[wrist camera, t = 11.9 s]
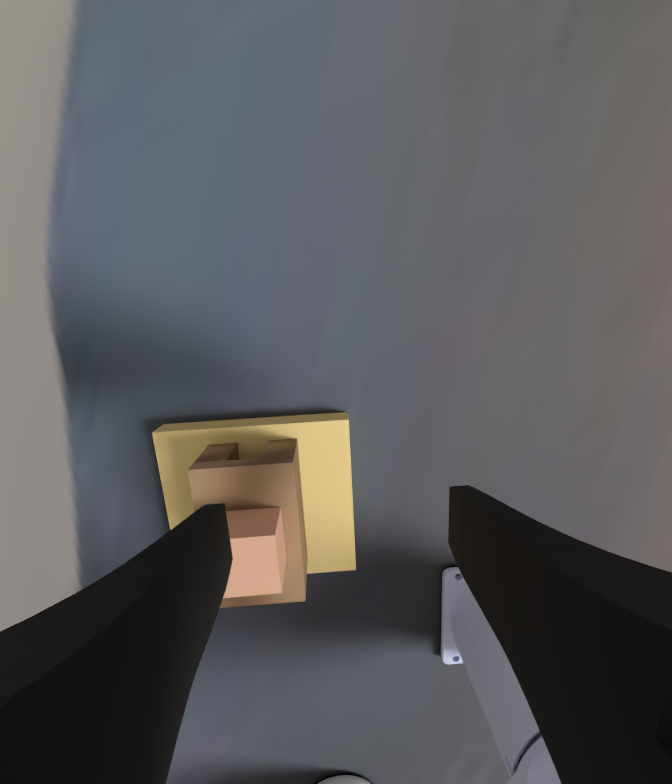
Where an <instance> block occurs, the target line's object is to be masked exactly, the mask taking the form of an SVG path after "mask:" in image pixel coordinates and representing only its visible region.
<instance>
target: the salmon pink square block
mask: <svg viewBox="0 0 672 784" xmlns="http://www.w3.org/2000/svg"><path fill="white" fill-rule="evenodd" d="M226 515H227V522H228V529H229V535H230V542H231V549H232V556H233V561H232V565H231V570H230V575H229V579H228V583H227V587H226V591H225V594H224V597H223V598H231V597H242V596H254V595H266V594H277V593H282V587H283V580H284V573H285V566H286V551H285V542H284V533H283V524H282V515H281V507H275V508H262V509H249V510H237V511H226Z"/></svg>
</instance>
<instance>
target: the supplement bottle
mask: <svg viewBox="0 0 672 784" xmlns="http://www.w3.org/2000/svg"><path fill="white" fill-rule="evenodd" d="M318 784H371V783H370V782H368V781H367V780H365V779H363V778H360V777H357V776H352V775H339V776H334V777H330V778H327V779H325V780H323V781H321V782H319V783H318Z"/></svg>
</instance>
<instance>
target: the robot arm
mask: <svg viewBox="0 0 672 784" xmlns="http://www.w3.org/2000/svg"><path fill="white" fill-rule="evenodd" d="M448 542H449V545H450V548H451V550H452V553H453V555H454V558H455V560H456V563H457V565H458V567H452V568H447V569H445V570H444V571H443V574H442V620H441V658H442V661H443V662H444V663H445V664H458V663H464V666H465V668H466V671H467V673H468V676H469V678H470V681H471V683H472V685H473V688H474V690H475V693H476V695H477V698H478V700H479V703H480V705H481V708H482V710H483V713H484V715H485V718H486V720H487V722H488V725H489V727H490V730H491V732H492V735H493V737H494V740H495V742H496V745H497V747H498V750H499V752H500V755H501V757H502V759H503V762H504V764H505V767H506V769H507V772H508V774H509V777H510V779H509V780H508V781H507V782H505V783H504V784H672V572H668V571H665V570H661V569H658V568H655V567H652V566H649V565H646V564H643V563H640V562H637V561H634V560H631V559H627V558H624V557H621V556H619V555H616V554H613V553H610V552H608V551H605V550H602V549H600V548H597V547H595V546H592V545H590V544H587V543H585V542H582V541H580V540H577V539H575V538H573V537H570V536H568V535H566V534H563V533H561V532H559V531H557V530H555V529H553V528H551V527H549V526H546V525H544V524H542V523H540V522H538V521H536V520H534V519H532V518H530V517H528V516H526V515H524V514H522V513H521V512H519V511H517V510H515V509H513V508H511V507H509V506H508V505H506V504H504V503H502V502H500V501H498V500H496V499H495V498H493V497H491V496H489V495H487V494H485V493H483V492H482V491H480V490H478V489H476V488H474V487H471V486H469V485H466V486H452V487H450V495H449V538H448ZM232 561H233V556H232V549H231V542H230V535H229V529H228V522H227V515H226V508H225V503H219V504H205V505H204V506H202V507H201V508H199V509H198V510H197V511H195V512H194V513H192V514H191V515H190V516H189V517H187V518H186V519H185V520H183V521H182V522H181V523H179V524H178V525H177V526H176V527H174V528H173V529H172V530H170V531H169V532H168V533H166V534H165V535H164V536H162V537H161V538H160V539H158V540H157V541H156V542H154V543H153V544H152V545H150V546H149V547H147V548H146V549H144V550H143V551H142V552H140V553H139V554H137V555H136V556H135V557H133V558H132V559H130V560H129V561H127V562H126V563H125V564H123V565H122V566H120V567H119V568H117V569H115V570H114V571H112V572H111V573H109V574H108V575H106V576H104V577H103V578H101V579H99V580H98V581H96V582H94V583H93V584H91V585H89V586H88V587H86V588H84V589H83V590H81V591H79V592H77V593H76V594H74V595H72V596H70V597H68V598H66V599H64V600H62V601H60V602H59V603H57V604H55V605H53V606H51V607H49V608H47V609H45V610H44V611H41V612H40V613H38V614H36V615H34V616H32V617H30V618H28V619H26V620H24V621H22V622H20V623H18V624H15V625H13V626H11V627H9V628H7V629H5V630H3V631H1V632H0V784H166V780H167V776H168V772H169V768H170V764H171V760H172V756H173V752H174V749H175V745H176V741H177V737H178V733H179V729H180V726H181V722H182V718H183V715H184V711H185V707H186V704H187V700H188V696H189V693H190V689H191V686H192V683H193V680H194V677H195V674H196V671H197V668H198V665H199V662H200V660H201V657H202V654H203V652H204V649H205V646H206V643H207V641H208V638H209V635H210V633H211V630H212V627H213V624H214V622H215V619H216V616H217V614H218V611H219V608H220V605H221V602H222V600H223V597H224V594H225V591H226V587H227V583H228V579H229V575H230V570H231V565H232ZM457 574H459V575H458V576H456V575H457Z"/></svg>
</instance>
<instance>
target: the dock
mask: <svg viewBox="0 0 672 784" xmlns="http://www.w3.org/2000/svg"><path fill="white" fill-rule="evenodd" d="M152 436H153V441H154V446H155V452H156V457H157V462H158V467H159V473H160V478H161V483H162V488H163V494H164V499H165V504H166V510H167V515H168V520H169V525H170V530H172V529H173V528H174V527H176V526H177V525H178V524H179V523H181V522H182V521H183V520H185V519H186V518H187V517H189V516H190V515H191V514H192V513H194V512H195V511H194V505H193V499H192V493H191V487H190V481H189V475H188V469H189V468H190V466H191V465H192V464H193V463H194V462H195V460H196V459H197V458H198V457H199V456H200V455H201V453H202V452H203V451H204V450H205V449H206V447H207V446H208V445H209V444H224V443H237V444H238V452H239V460H240V459H255V458H262V457H263V455H264V452H265V450H266V447H267V444H268V442H269V440H283V439H297V441H298V453H299V464H300V476H301V488H302V499H303V511H304V522H305V534H306V545H307V557H308V563H307V574H311V573H323V572H336V571H349V570H356V559H355V538H354V518H353V498H352V478H351V457H350V437H349V419H348V415H347V412H339V413H324V414H309V415H294V416H279V417H263V418H248V419H233V420H218V421H203V422H188V423H172V424H163V425H162V426H160V427H159V428H158V429H156V430H155V431H154V432H152Z"/></svg>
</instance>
